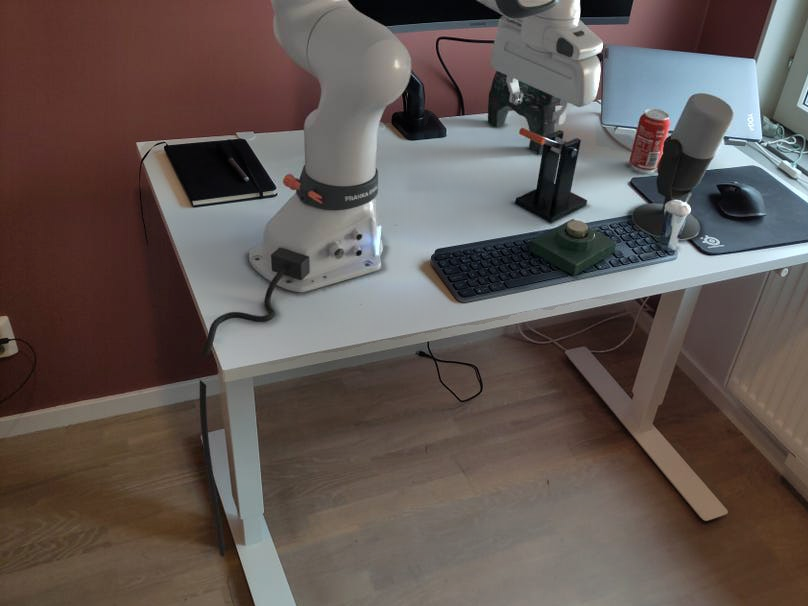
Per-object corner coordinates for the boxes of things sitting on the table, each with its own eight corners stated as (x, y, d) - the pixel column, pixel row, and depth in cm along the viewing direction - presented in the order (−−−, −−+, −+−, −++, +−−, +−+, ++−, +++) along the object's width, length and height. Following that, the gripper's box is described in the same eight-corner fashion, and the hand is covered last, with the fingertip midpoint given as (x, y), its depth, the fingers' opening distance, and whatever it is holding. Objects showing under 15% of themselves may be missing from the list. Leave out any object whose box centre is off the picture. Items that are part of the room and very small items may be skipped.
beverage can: (655, 162, 178) (669, 109, 170) (659, 176, 173) (674, 121, 165) (626, 159, 178) (639, 105, 170) (630, 172, 173) (643, 118, 165)
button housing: (573, 276, 140) (577, 256, 138) (529, 250, 145) (532, 231, 143) (614, 252, 148) (619, 233, 145) (570, 229, 152) (574, 210, 150)
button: (577, 242, 142) (579, 233, 141) (561, 233, 144) (563, 224, 143) (590, 235, 144) (592, 226, 143) (573, 226, 146) (575, 217, 145)
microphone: (671, 248, 151) (710, 118, 135) (618, 216, 158) (649, 89, 142) (712, 228, 158) (754, 103, 142) (660, 199, 165) (694, 76, 149)
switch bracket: (550, 223, 153) (563, 155, 144) (514, 203, 157) (524, 136, 149) (586, 205, 160) (600, 139, 151) (550, 187, 164) (562, 121, 155)
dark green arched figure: (559, 154, 176) (576, 60, 163) (537, 160, 173) (552, 65, 160) (500, 117, 187) (512, 27, 174) (478, 123, 184) (488, 31, 171)
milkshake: (686, 247, 152) (701, 198, 145) (669, 256, 149) (683, 207, 142) (666, 236, 154) (680, 188, 148) (649, 244, 151) (662, 196, 145)
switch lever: (538, 147, 141) (544, 134, 140) (516, 136, 143) (522, 123, 143) (572, 159, 151) (578, 147, 151) (551, 149, 154) (557, 137, 153)
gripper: (487, 13, 134) (479, 95, 143) (587, 53, 124) (571, 139, 133) (513, 6, 138) (503, 87, 146) (611, 45, 128) (594, 129, 137)
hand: (536, 112), depth 140 cm, fingers open, 8 cm apart
